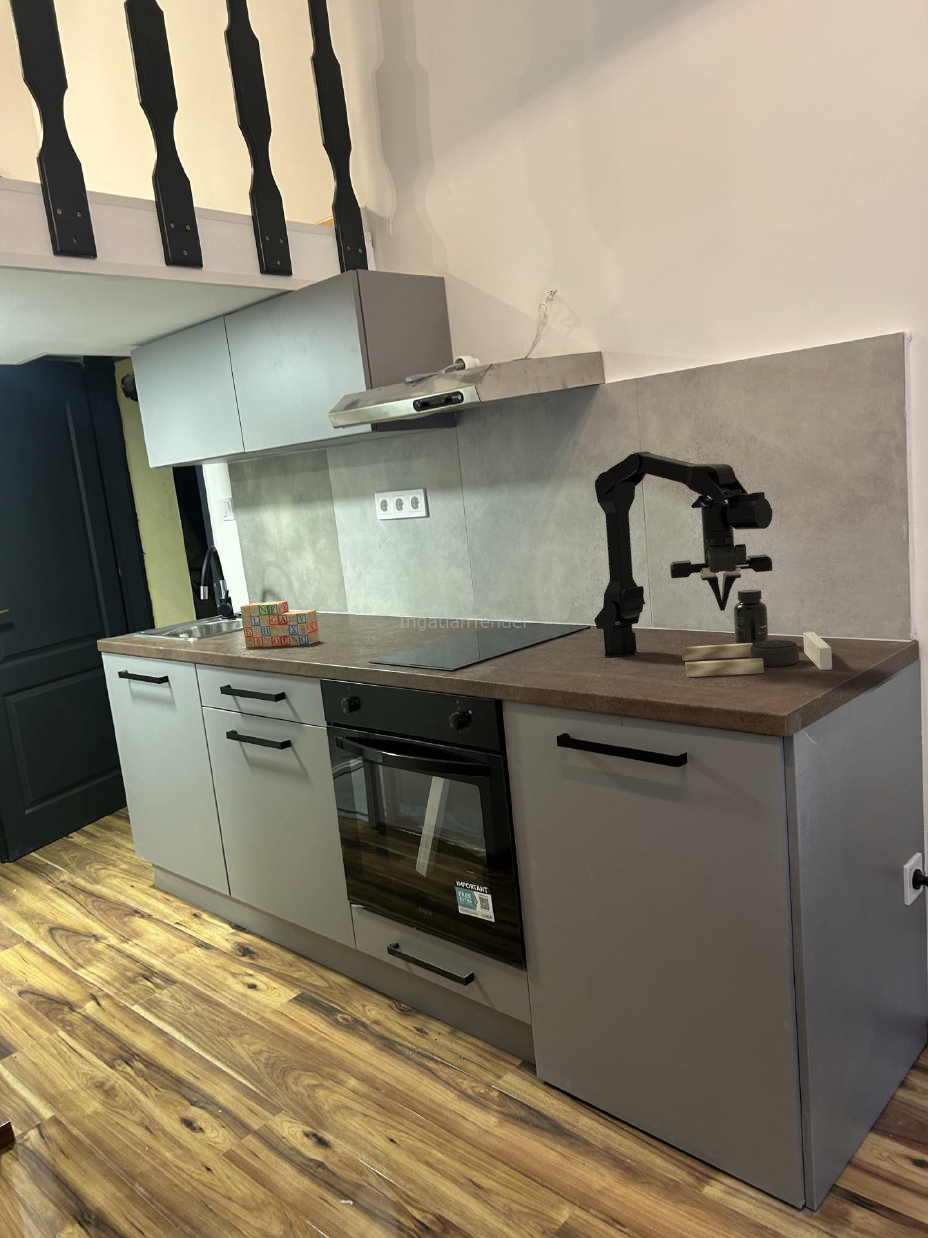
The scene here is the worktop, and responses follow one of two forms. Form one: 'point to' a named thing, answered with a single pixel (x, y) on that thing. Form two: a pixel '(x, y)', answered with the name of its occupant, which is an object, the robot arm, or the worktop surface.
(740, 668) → the tunnel walls
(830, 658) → the block
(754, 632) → the supplement bottle
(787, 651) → the smart speaker
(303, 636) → the stack of blocks
